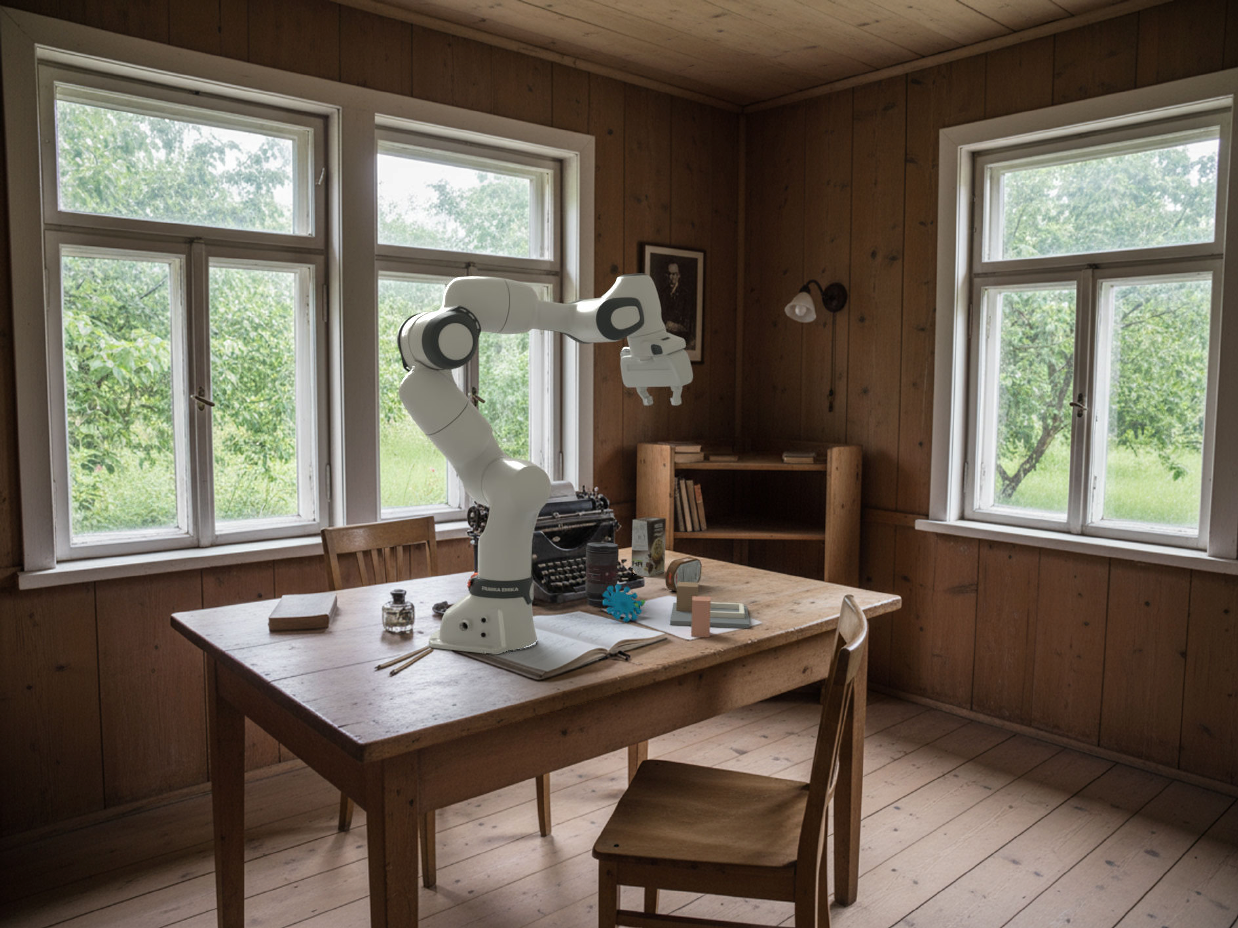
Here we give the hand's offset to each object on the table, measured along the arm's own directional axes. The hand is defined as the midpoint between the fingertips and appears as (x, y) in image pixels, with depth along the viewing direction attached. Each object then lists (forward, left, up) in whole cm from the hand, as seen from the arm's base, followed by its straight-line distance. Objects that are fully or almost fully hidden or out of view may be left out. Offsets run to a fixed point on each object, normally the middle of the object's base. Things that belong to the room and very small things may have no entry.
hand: (662, 404), depth 211 cm
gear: (-8, +3, -50) cm, 51 cm away
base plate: (+12, +8, -50) cm, 52 cm away
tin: (+5, +38, -50) cm, 63 cm away
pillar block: (+10, -8, -50) cm, 52 cm away
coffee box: (-6, +57, -50) cm, 76 cm away
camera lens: (-15, +17, -50) cm, 55 cm away
